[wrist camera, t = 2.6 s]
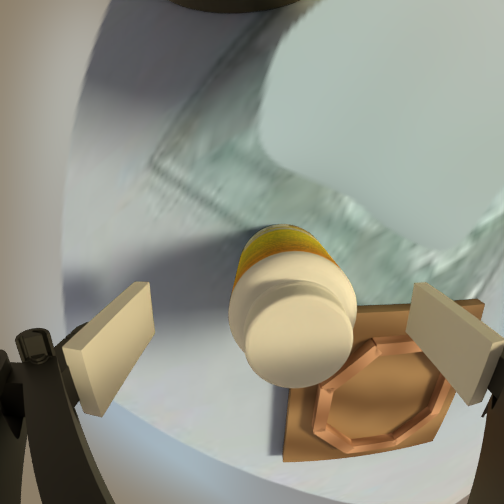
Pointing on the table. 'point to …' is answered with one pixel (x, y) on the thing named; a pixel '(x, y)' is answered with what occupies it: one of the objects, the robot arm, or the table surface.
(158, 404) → the table surface
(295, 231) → the supplement bottle
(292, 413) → the holder board
